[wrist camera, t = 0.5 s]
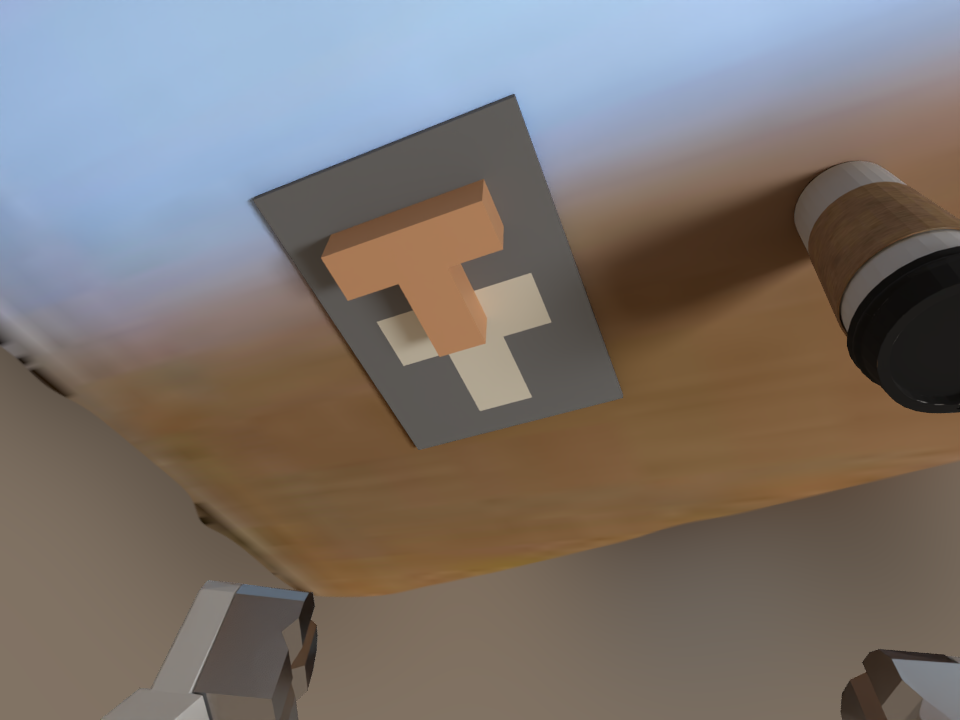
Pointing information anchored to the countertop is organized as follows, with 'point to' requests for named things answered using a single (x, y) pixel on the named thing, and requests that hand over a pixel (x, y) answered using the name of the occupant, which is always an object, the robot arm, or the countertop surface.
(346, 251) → the t block
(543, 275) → the t mat
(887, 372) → the coffee cup
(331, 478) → the countertop surface
